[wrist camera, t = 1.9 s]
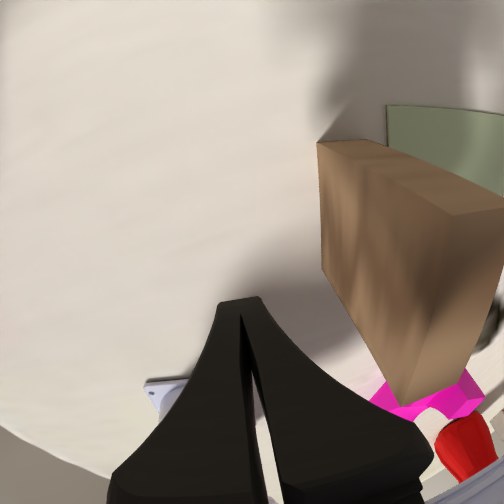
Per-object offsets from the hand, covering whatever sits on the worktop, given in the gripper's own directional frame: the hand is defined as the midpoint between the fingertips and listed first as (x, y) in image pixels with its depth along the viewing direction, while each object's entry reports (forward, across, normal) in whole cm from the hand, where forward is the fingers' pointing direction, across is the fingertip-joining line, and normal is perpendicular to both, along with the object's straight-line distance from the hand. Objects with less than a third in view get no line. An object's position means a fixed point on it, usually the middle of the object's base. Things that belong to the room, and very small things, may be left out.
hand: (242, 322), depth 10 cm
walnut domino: (+8, -7, 0) cm, 11 cm away
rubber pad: (+8, -16, 0) cm, 18 cm away
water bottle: (+9, -32, +42) cm, 53 cm away
